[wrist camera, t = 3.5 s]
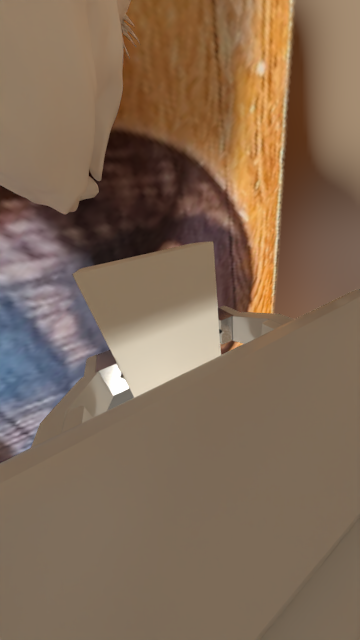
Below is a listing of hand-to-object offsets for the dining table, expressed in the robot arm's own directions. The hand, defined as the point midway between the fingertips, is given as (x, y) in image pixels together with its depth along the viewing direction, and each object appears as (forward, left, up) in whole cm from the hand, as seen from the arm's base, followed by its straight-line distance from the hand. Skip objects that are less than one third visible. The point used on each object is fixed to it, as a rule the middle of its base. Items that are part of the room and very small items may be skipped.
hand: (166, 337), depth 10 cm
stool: (0, 0, -5) cm, 5 cm away
